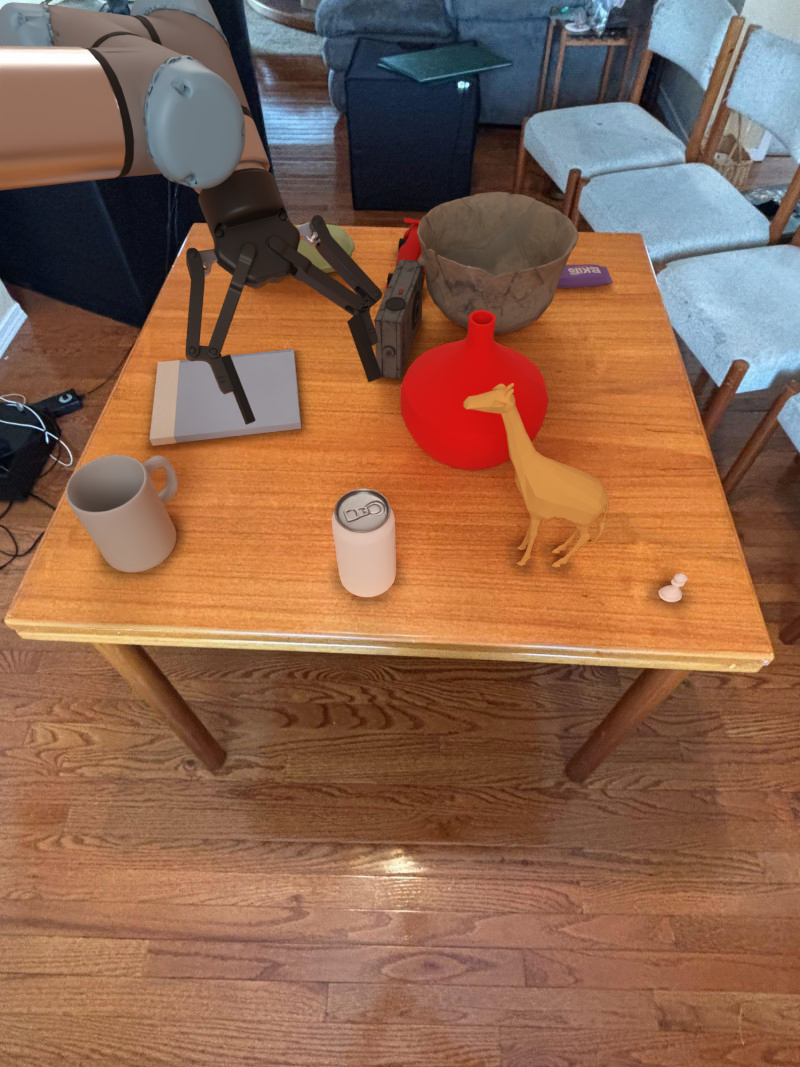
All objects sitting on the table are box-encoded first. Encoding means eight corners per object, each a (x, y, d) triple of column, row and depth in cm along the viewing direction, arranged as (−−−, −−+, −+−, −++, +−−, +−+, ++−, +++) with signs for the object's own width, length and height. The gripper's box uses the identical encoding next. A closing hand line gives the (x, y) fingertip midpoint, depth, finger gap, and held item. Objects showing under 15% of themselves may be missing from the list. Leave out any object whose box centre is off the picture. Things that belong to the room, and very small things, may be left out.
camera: (400, 385, 92) (400, 326, 84) (374, 381, 93) (371, 322, 85) (423, 318, 102) (424, 260, 94) (399, 315, 102) (398, 256, 94)
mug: (139, 585, 72) (102, 527, 63) (88, 552, 75) (46, 492, 66) (212, 515, 78) (187, 453, 69) (162, 487, 81) (132, 424, 72)
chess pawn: (678, 587, 72) (691, 567, 68) (683, 602, 70) (697, 583, 67) (655, 587, 72) (667, 568, 68) (660, 603, 70) (672, 584, 67)
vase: (372, 451, 84) (365, 328, 69) (450, 378, 93) (459, 254, 78) (489, 516, 78) (510, 396, 62) (561, 431, 86) (596, 308, 71)
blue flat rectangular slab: (152, 446, 85) (149, 439, 84) (160, 368, 95) (157, 361, 94) (301, 429, 87) (300, 422, 86) (294, 355, 96) (293, 348, 95)
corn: (352, 261, 102) (229, 264, 103) (357, 283, 111) (243, 285, 111) (352, 211, 103) (229, 214, 103) (356, 236, 111) (243, 239, 111)
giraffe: (448, 564, 74) (463, 399, 53) (450, 533, 76) (467, 366, 56) (591, 578, 72) (663, 415, 52) (589, 547, 75) (657, 380, 55)
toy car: (384, 301, 104) (383, 273, 100) (402, 244, 115) (402, 216, 111) (419, 304, 104) (420, 276, 100) (434, 247, 114) (436, 219, 110)
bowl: (390, 314, 102) (389, 222, 90) (486, 265, 111) (496, 175, 98) (488, 383, 92) (501, 290, 80) (585, 323, 101) (610, 231, 89)
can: (404, 589, 72) (404, 525, 62) (349, 606, 70) (340, 543, 61) (385, 545, 75) (382, 478, 66) (332, 561, 74) (322, 495, 64)
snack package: (607, 261, 108) (615, 278, 105) (604, 271, 109) (612, 288, 106) (540, 263, 107) (545, 280, 104) (538, 273, 109) (543, 291, 106)
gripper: (345, 172, 67) (411, 368, 71) (105, 231, 60) (193, 444, 64) (364, 136, 60) (436, 356, 64) (94, 198, 53) (194, 440, 57)
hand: (314, 401), depth 64 cm, fingers open, 13 cm apart
